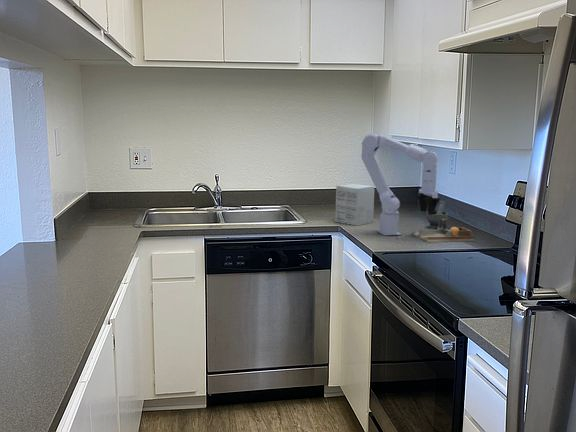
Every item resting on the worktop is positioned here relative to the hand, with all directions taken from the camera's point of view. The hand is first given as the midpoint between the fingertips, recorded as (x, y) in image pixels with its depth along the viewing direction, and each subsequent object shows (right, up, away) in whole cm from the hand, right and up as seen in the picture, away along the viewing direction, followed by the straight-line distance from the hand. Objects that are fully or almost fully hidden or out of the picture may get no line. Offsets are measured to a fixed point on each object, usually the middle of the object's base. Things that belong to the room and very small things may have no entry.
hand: (427, 212), depth 243 cm
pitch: (+7, -10, +1) cm, 13 cm away
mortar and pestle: (+10, -7, +23) cm, 26 cm away
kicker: (+8, -9, +2) cm, 12 cm away
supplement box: (-27, -5, +32) cm, 42 cm away
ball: (+11, -8, -1) cm, 14 cm away
